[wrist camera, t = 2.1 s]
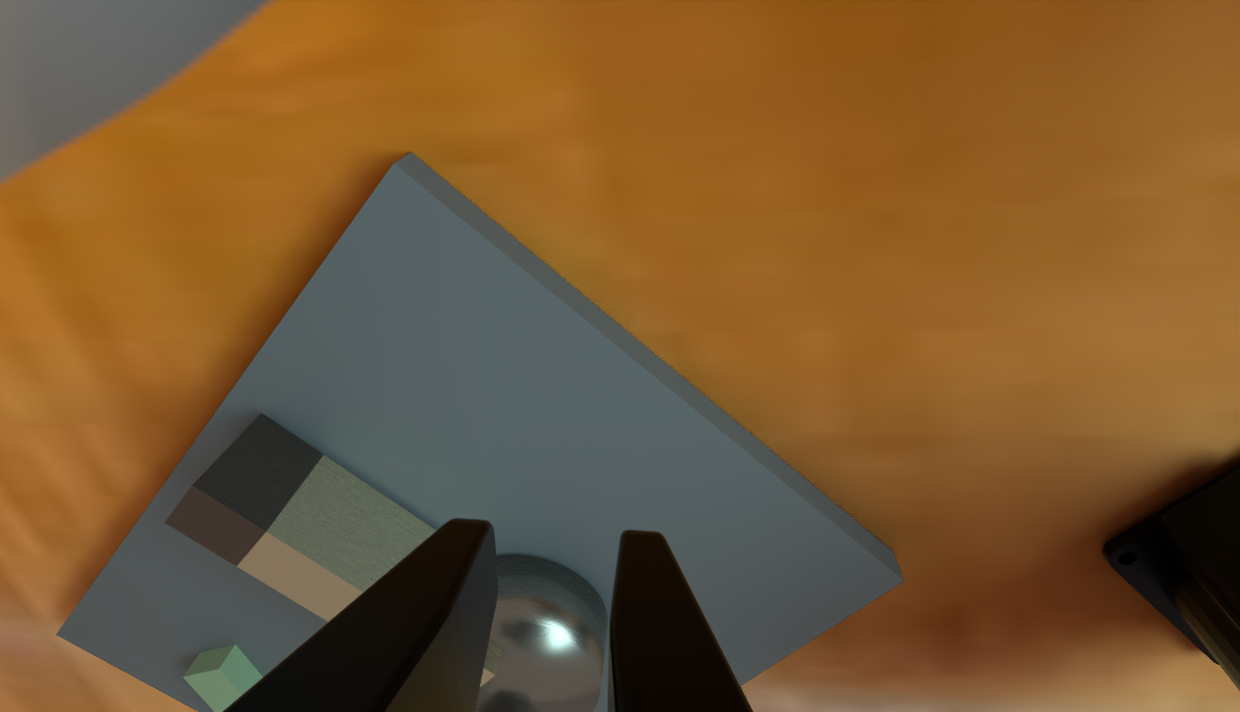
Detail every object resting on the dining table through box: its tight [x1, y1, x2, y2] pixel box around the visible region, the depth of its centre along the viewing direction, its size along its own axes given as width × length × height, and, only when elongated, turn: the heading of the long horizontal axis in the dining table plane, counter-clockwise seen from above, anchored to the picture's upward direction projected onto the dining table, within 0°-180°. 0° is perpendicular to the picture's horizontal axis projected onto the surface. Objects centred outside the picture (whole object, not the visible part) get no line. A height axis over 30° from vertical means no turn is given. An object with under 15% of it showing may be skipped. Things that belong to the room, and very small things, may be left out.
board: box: [56, 152, 904, 712], centre depth 23 cm, size 18×22×2 cm
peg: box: [164, 413, 608, 712], centre depth 20 cm, size 12×5×3 cm, turn 49°
